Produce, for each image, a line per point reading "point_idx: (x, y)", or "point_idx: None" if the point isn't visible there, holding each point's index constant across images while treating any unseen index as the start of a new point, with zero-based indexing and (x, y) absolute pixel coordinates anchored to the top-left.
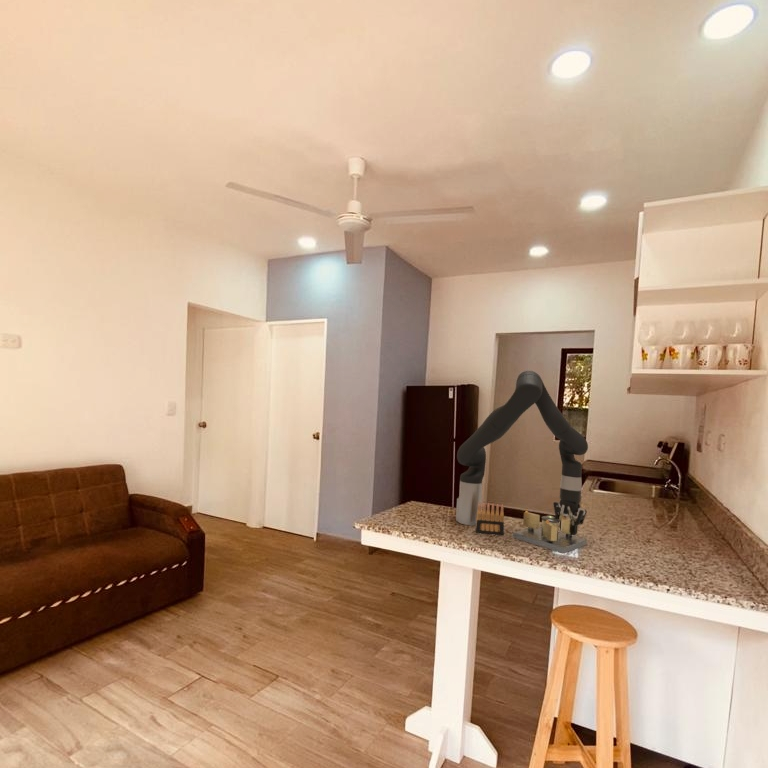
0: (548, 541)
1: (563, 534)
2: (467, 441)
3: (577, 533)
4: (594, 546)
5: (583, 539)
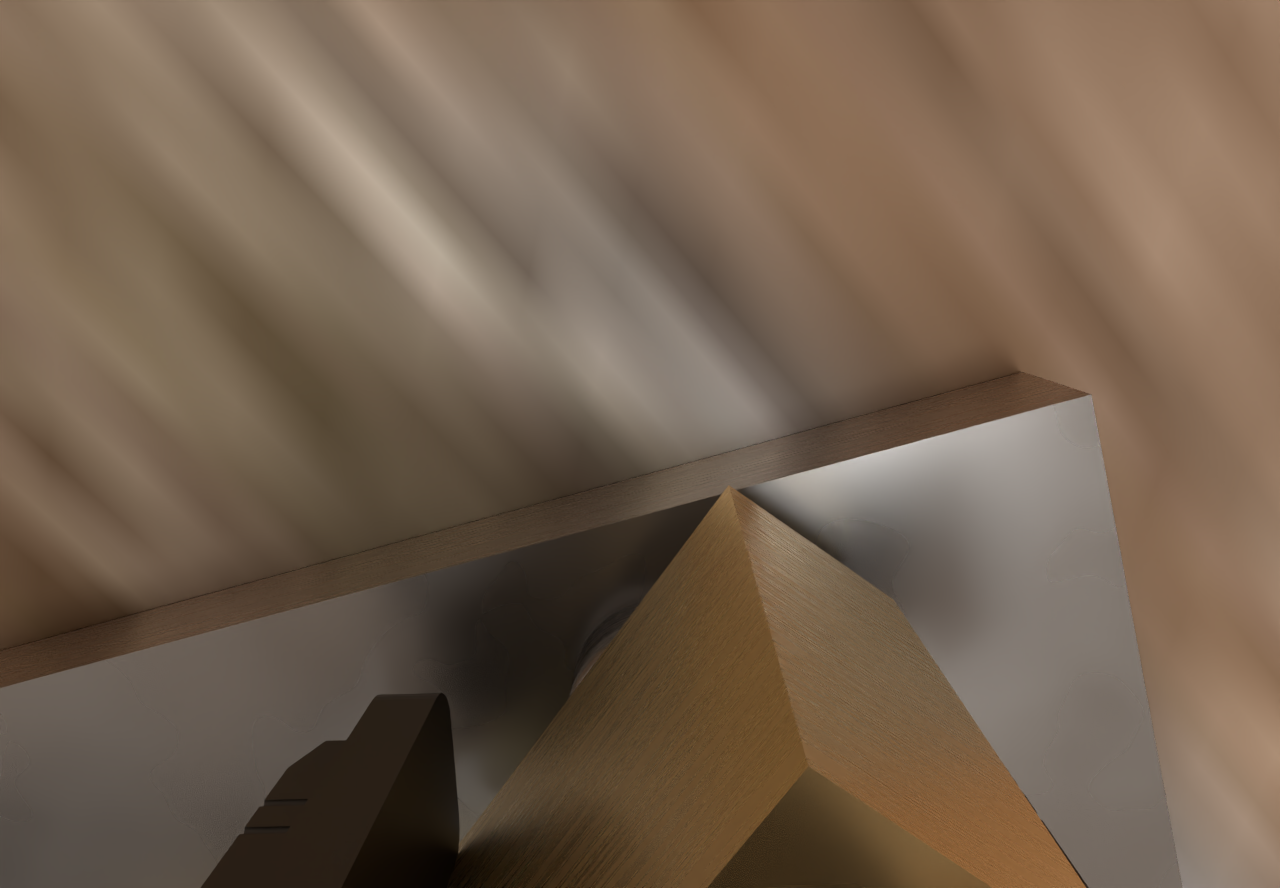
0: None
1: (473, 700)
2: None
3: (898, 617)
4: (1183, 233)
5: (1042, 494)
